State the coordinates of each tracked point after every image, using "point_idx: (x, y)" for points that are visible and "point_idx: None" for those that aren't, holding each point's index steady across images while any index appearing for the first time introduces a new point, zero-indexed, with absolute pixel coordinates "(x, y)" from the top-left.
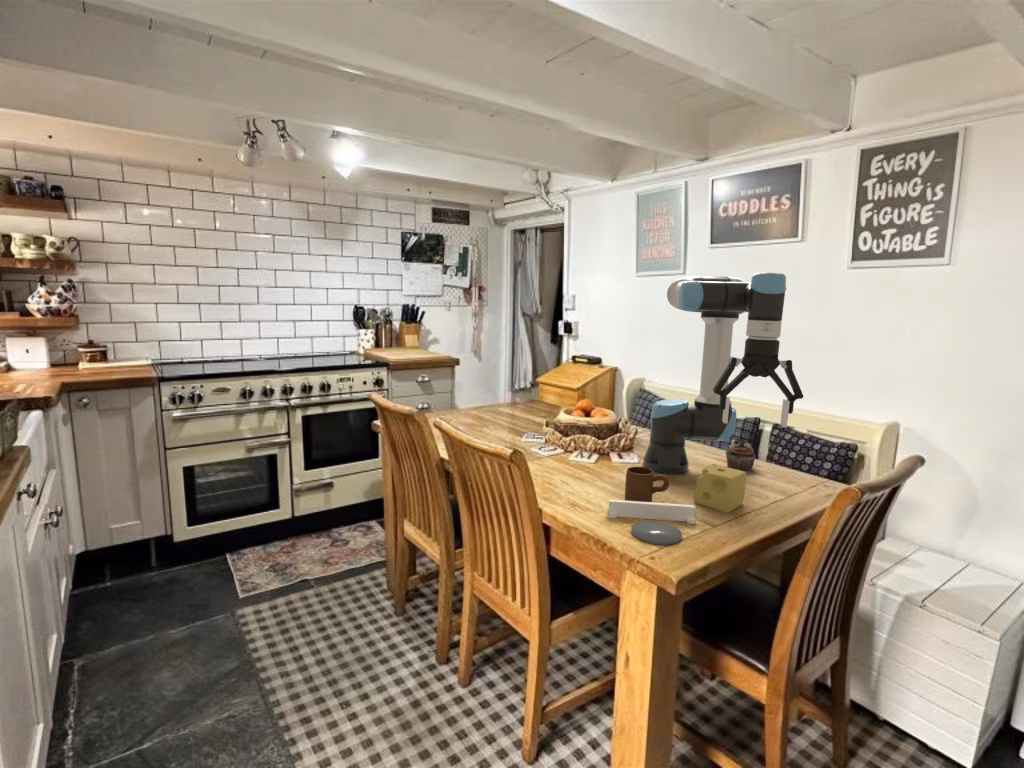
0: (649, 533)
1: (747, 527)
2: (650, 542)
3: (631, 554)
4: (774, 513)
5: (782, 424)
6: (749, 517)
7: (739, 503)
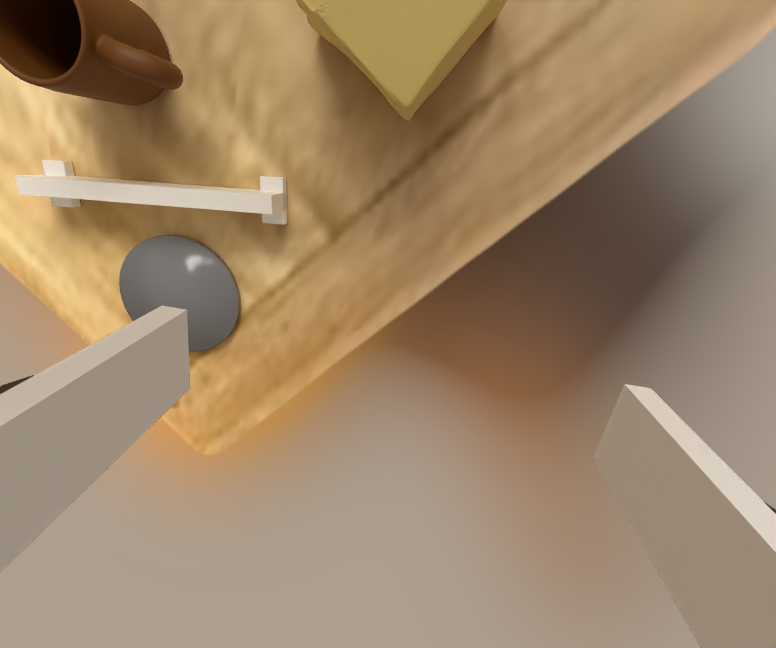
0: None
1: (428, 231)
2: None
3: None
4: (572, 101)
5: (610, 442)
6: (466, 151)
7: (475, 39)
